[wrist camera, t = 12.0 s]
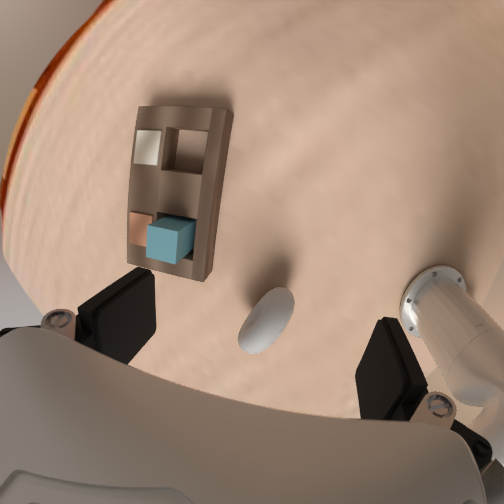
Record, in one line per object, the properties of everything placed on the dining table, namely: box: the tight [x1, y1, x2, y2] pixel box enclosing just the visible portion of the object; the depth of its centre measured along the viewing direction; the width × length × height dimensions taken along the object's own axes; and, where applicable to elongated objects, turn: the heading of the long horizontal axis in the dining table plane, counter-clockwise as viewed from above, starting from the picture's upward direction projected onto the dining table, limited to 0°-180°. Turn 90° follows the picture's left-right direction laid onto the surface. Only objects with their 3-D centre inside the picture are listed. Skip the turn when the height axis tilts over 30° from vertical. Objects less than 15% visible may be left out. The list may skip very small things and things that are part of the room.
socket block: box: [127, 106, 234, 282], centre depth 34 cm, size 12×22×4 cm, turn 171°
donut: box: [238, 287, 295, 354], centre depth 35 cm, size 10×4×10 cm, turn 145°
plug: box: [146, 214, 197, 264], centre depth 34 cm, size 4×4×8 cm
